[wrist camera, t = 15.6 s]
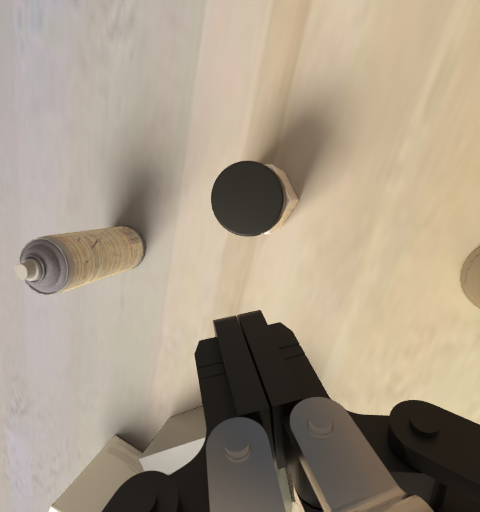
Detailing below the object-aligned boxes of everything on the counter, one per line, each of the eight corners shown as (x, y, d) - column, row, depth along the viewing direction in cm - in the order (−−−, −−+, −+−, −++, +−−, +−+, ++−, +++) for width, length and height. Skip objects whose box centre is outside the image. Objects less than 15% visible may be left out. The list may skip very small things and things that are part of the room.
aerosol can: (111, 220, 57) (-2, 231, 38) (149, 233, 56) (52, 251, 37) (103, 261, 58) (-10, 291, 39) (140, 274, 57) (42, 312, 38)
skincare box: (103, 459, 65) (34, 537, 50) (116, 431, 63) (48, 503, 48) (142, 486, 63) (82, 574, 49) (156, 458, 62) (99, 541, 47)
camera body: (242, 391, 56) (222, 435, 45) (269, 443, 56) (254, 498, 46) (157, 421, 61) (121, 467, 50) (182, 469, 61) (151, 525, 50)
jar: (234, 226, 52) (206, 234, 41) (236, 168, 51) (207, 160, 39) (296, 230, 50) (285, 239, 38) (300, 170, 49) (290, 161, 37)
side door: (260, 381, 55) (245, 419, 45) (269, 381, 54) (256, 419, 45) (284, 503, 57) (274, 563, 47) (293, 503, 56) (285, 564, 47)
